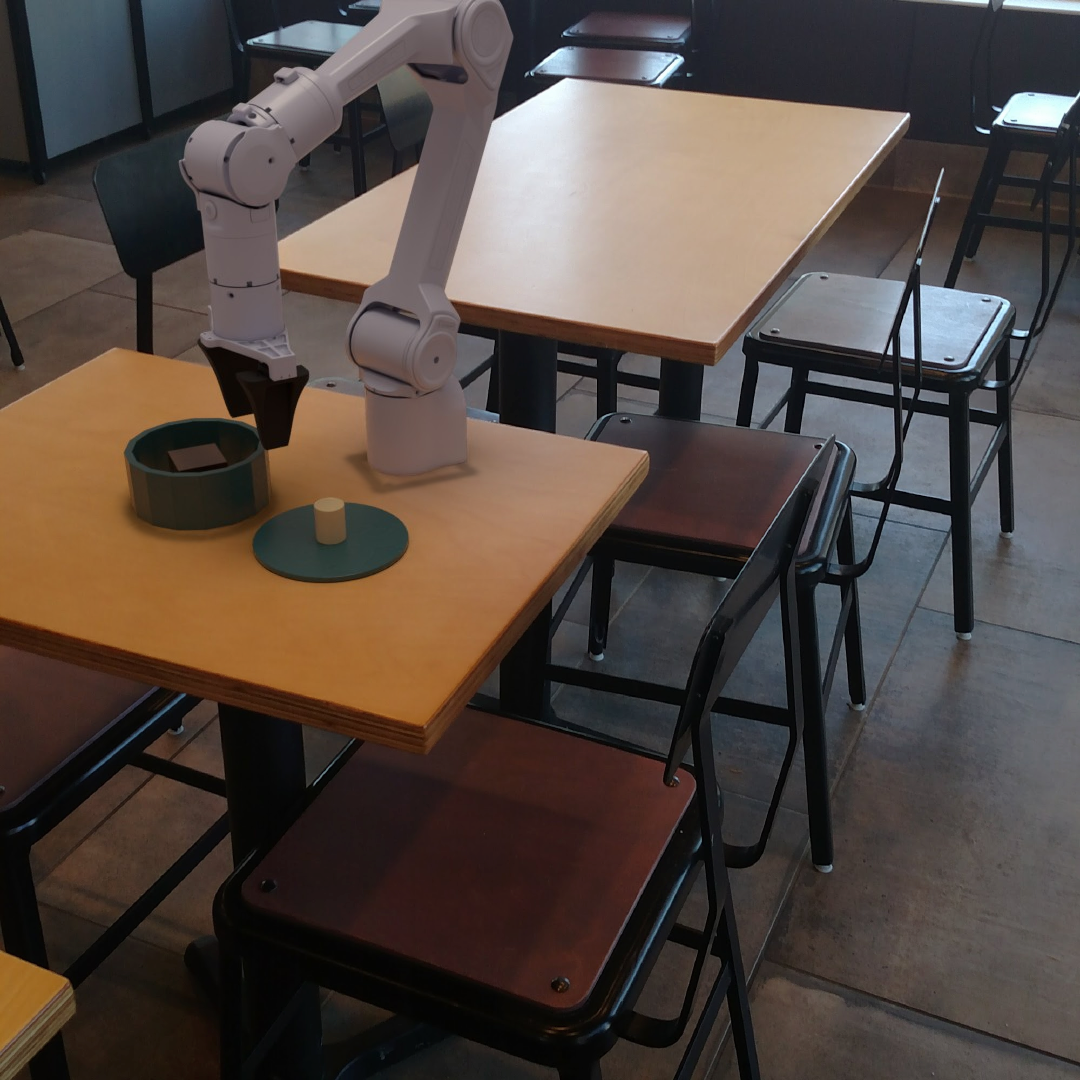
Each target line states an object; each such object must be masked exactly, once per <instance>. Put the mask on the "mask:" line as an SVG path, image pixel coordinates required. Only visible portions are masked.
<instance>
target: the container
mask: <svg viewBox="0 0 1080 1080" xmlns="http://www.w3.org/2000/svg"><path fill="white" fill-rule="evenodd" d="M213 443H215V444H216V446H217V447H218V449H219V450H220V452H221V453H222V455H223V456H224V458H225V459H226V461H227V463H228V467H226V468H221V469H216V470H210V471H205V472H197V473H172V472H170V468H169V461H168V453H167V451H173V450H178V449H184V448H190V447H196V446H202V445H207V444H213ZM123 457H124V464H125V470H126V477H127V484H128V491H129V497H130V505H131V507H132V509H133V512H134V513H135V516H136V517H137V518H139V519H140V520H142V521H144V522H146V523H148V524H149V525H151V526H153V527H157V528H162V529H168V530H172V531H209V530H213V529H218V528H224V527H228V526H233V525H236V524H238V523H241V522H243V521H245V520H248V519H251V518H252V517H255V516H257V515H258V514H259V513H260V512H261V511H262V510H264V508H265V507H267V506H268V505H269V504H270V502H271V498H272V497H271V496H272V492H273V488H272V477H271V466H270V465H271V463H270V455H269V450H265V449H264V448H263V446H262V444H261V441H260V439H259V435H258V431H257V427H256V426H254V425H251V424H249V423H247V422H245V421H243V420H241V421H240V420H235V419H231V418H230V419H229V418H223V417H192V418H186V419H180V420H174V421H167V422H164V423H161V424H159V425H156V426H153V427H150V428H147V429H145V430H142V431H141V432H140V433H138V434H136V435H135V436H134V437H132V438H130V439H129V440H128V443H127V445H126V446H125V449H124V451H123Z"/></svg>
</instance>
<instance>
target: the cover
mask: <svg viewBox="0 0 1080 1080" xmlns="http://www.w3.org/2000/svg"><path fill="white" fill-rule="evenodd" d="M409 536H410V535H409V531H408V529H407V526H406V525H405V523H404V522H403V521H402V520H401V519H400V518H398V517H397V516H396V515H394V514H393V513H391V512H389V511H387V510H385V509H382V508H379V507H376V506H373V505H369V504H363V503H357V502H347V501H344V500H343V499H341V498H338V497H331V496H329V497H322V498H319V499H318V500H316V501H315V502H314V503H313V504H307V505H301V506H297V507H294V508H291V509H288V510H285V511H283V512H281V513H279V514H277V515H275V516H273V517H271V518H270V519H268V520H267V521H265V522H264V523H263V524H261V526H259V528H258V529H257V531H256V532H255V533H254V536H253V538H252V552H253V555H254V558H255V559H256V560H257V561H258V562H259V564H260V565H261V566H262V567H263V568H265V569H266V570H268V571H270V572H272V573H273V574H276V575H278V576H281V577H283V578H287V579H290V580H295V581H302V582H309V583H338V582H346V581H352V580H357V579H362V578H364V577H365V578H366V577H368V576H369V577H370V576H372V575H374V574H377V573H379V572H381V571H384V570H385V569H387V568H389V567H391V566H393V565H394V564H395V563H396V562H398V561H399V560H400V559H401V558H402V557H403V556H404V554H405V553H406V551H407V549H408V546H409V541H410V539H409V538H410V537H409Z"/></svg>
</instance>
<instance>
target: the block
mask: <svg viewBox="0 0 1080 1080" xmlns="http://www.w3.org/2000/svg"><path fill="white" fill-rule="evenodd" d="M167 453H168V461H169V468H170V472H172V473H197V472H205V471H210V470H216V469H221V468H226V467H228V463H227V461H226V459H225V458H224V456H223V455H222V453H221V452H220V450H219V449H218V447H217V446H216V444H215V443H213V444H207V445H202V446H196V447H190V448H184V449H178V450H173V451H167Z"/></svg>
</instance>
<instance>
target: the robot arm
mask: <svg viewBox="0 0 1080 1080" xmlns="http://www.w3.org/2000/svg"><path fill="white" fill-rule="evenodd" d="M510 25H511V24H510V23H509V20H508V16H507V13H506V10H505V8H504V7H503V4H502V3H501V1H500V0H381V1H380V4H379V10H378V14H377V15H375V16H374V17H373V18H372V19H371V20H370V21H368V23H367V24H366V25H365V26H363V27H362V28H361V29H360V30H358V31H357V32H356V33H355V34H354V35H353V36H352V37H351V38H350V39H349V40H348V41H346V42H345V43H344V44H343V45H342V46H341V47H340V48H339V49H338V50H336V51H335V52H334V53H333V54H332V55H330V57H329V58H327V59H326V60H325V61H324V62H323V63H322V64H321V65H319V66H318V68H316V69H315V70H313V69H311V68H309V67H305V66H295V67H293V68H290V67H286V66H285V67H281V68H280V69H279V70H277V71H276V72H275V73H274V74H273V78H274V82H273V83H271V84H270V85H269V86H267V87H266V88H265V89H263V90H262V91H260V92H259V93H258V94H257V95H256V96H254V97H253V98H251V99H250V100H249V101H248V102H246V103H244V102H239V103H238V104H236V105H235V106H234V107H233V108H232V109H231V111H232V113H231V114H230V115H229V116H228V118H227V119H226V120H221V119H220V120H219V119H217V120H216V119H215V120H214V119H211V120H208V121H205V122H203V123H202V124H200V125H199V126H197V127H196V128H195V130H194V131H193V132H192V133H191V134H190V136H189V137H188V139H187V140H186V144H185V147H184V153H183V158H182V159H180V160H179V161H178V166H179V171H180V173H181V176H182V178H183V180H184V182H185V183H186V184H187V186H189V188H190V189H191V190H192V191H193V193H194V195H195V201H196V208H197V211H200V214H201V224H202V232H203V233H202V234H203V242H204V252H205V261H206V262H205V263H206V269H207V270H206V271H207V279H208V288H209V297H210V304H209V305H208V304H207V317H208V326H209V327H210V330H208V331H203V332H201V333H200V334H199V338H198V339H197V341H196V343H197V345H198V348H200V350H201V352H202V353H203V355H204V356H205V358H206V359H207V361H208V363H209V365H210V366H211V368H212V371H213V373H214V376H215V379H216V381H217V383H218V386H219V390H220V392H221V396H222V399H223V401H224V404H225V407H226V410H227V412H228V414H229V416H230V417H231V418H232V419H235V418H240V417H245V416H250V415H253V417H254V421H255V427H256V428H257V431H258V435H259V439H260V441H261V444H262V446H263V448H264V449H265V450H268V451H271V450H275V449H280V448H285V447H288V446H289V445H290V441H291V440H290V439H291V435H292V430H293V425H294V418H295V414H296V409H297V406H298V402H299V400H300V397H301V395H302V393H303V391H304V390H305V389H304V388H305V387H306V386H307V384H308V382H309V380H310V370H309V369H308V368H307V367H305V366H304V365H302V364H297V357H296V353H295V352H293V351H292V350H291V347H290V346H291V345H290V340H289V333H288V327H287V325H286V324H285V321H284V320H285V319H284V309H283V295H282V279H281V269H280V254H279V243H278V242H279V241H278V231H277V217H276V215H277V214H276V205H275V203H276V202H275V200H278V199H279V198H280V197H281V195H282V194H283V193H284V190H285V189H286V186H287V183H288V180H289V176H290V173H291V171H293V170H294V168H296V164H297V163H298V162H299V161H300V160H302V159H303V158H304V157H306V156H307V155H309V154H310V153H311V152H312V151H313V150H314V149H316V147H318V146H319V145H320V144H322V143H323V142H324V141H325V140H326V139H328V138H329V137H330V136H332V135H333V134H334V133H335V132H337V131H338V130H339V128H340V127H341V125H342V121H343V107H345V106H346V105H348V103H350V102H352V101H353V100H355V99H356V98H358V97H359V96H360V95H362V94H364V93H365V92H367V91H368V90H370V89H371V88H372V87H374V86H375V85H377V84H379V83H380V82H382V81H383V80H384V79H386V78H388V77H389V76H391V74H394V73H395V72H396V71H398V70H399V69H400V68H402V67H404V66H405V67H406V69H407V70H408V71H409V73H410V74H411V75H412V76H413V78H414V80H416V81H417V83H418V84H419V85H420V86H421V88H422V89H424V90H425V91H426V93H427V96H428V98H429V100H430V102H431V104H432V108H433V109H432V113H431V118H430V121H429V124H428V128H427V132H426V135H425V138H424V139H425V140H424V143H423V147H422V150H421V155H420V158H419V161H418V164H417V169H416V172H415V176H414V180H413V183H412V186H411V191H410V194H409V197H408V201H407V205H406V209H405V213H404V216H403V220H402V223H401V227H400V231H399V233H398V237H397V242H396V245H395V249H394V252H393V257H392V260H391V264H390V267H389V271H388V273H387V275H385V277H383V278H381V279H380V280H378V281H376V282H374V283H373V284H371V285H370V286H369V287H367V288H365V290H364V292H363V294H362V295H363V296H362V299H361V303H360V305H359V307H358V309H357V311H356V312H355V313H354V315H353V316H352V317H351V319H350V321H349V323H348V325H347V328H346V331H345V336H344V350H345V353H346V356H347V358H348V360H349V361H350V363H352V364H353V365H354V366H355V367H357V368H358V378H359V380H362V381H363V389H364V391H363V393H364V410H365V411H364V412H365V413H364V415H365V432H366V453H367V464H368V465H369V467H370V468H371V469H373V470H375V471H377V472H378V473H382V474H385V475H389V476H396V477H398V476H399V477H406V476H415V475H421V474H425V473H428V472H430V471H434V470H436V469H439V468H443V467H449V466H454V465H458V464H463V463H466V462H467V461H468V458H467V457H468V444H467V443H468V441H467V440H468V438H467V437H468V435H467V434H468V432H467V431H468V430H467V429H468V423H467V422H468V421H467V420H468V419H467V418H468V417H467V412H468V411H467V403H466V397H465V394H464V391H463V388H462V385H461V383H460V382H459V380H458V379H457V377H456V376H454V375H453V374H452V373H453V371H454V368H455V366H456V362H457V357H458V343H457V341H458V340H457V338H458V332H459V328H460V324H461V317H460V315H459V313H458V312H457V310H456V308H455V307H454V306H453V304H452V302H451V301H450V298H448V296H447V293H446V292H445V291H446V287H447V284H448V281H449V276H450V273H451V269H452V267H453V266H452V265H453V262H454V259H455V257H456V256H455V255H456V251H457V248H458V245H459V241H460V238H461V234H462V231H463V226H464V223H465V220H466V216H467V213H468V210H469V206H470V202H471V199H472V196H473V191H474V189H475V185H476V182H477V181H476V180H477V177H478V174H479V171H480V167H481V163H482V160H483V156H484V153H485V149H486V145H487V142H488V139H489V135H490V131H491V129H492V128H491V127H492V125H493V120H494V117H495V113H496V110H497V105H498V97H499V90H500V87H501V83H502V80H503V76H504V72H505V69H506V66H507V62H508V59H509V55H510V52H511V48H512V44H513V41H514V33H513V31H512V29H511V26H510ZM403 311H407V312H410V313H412V314H414V315H415V316H416V317H417V318H414V317H413V316H409V315H406V314H402V313H401V312H403Z"/></svg>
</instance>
